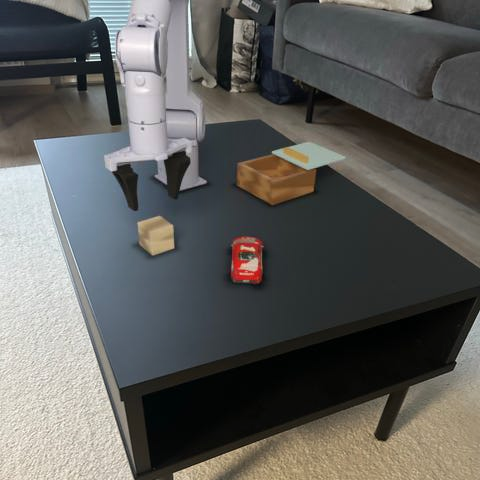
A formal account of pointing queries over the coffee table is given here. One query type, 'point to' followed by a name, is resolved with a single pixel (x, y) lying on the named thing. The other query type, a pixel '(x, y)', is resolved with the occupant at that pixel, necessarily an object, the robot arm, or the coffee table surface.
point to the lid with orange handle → (308, 155)
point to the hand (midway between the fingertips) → (153, 202)
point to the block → (156, 235)
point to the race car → (246, 260)
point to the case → (274, 179)
